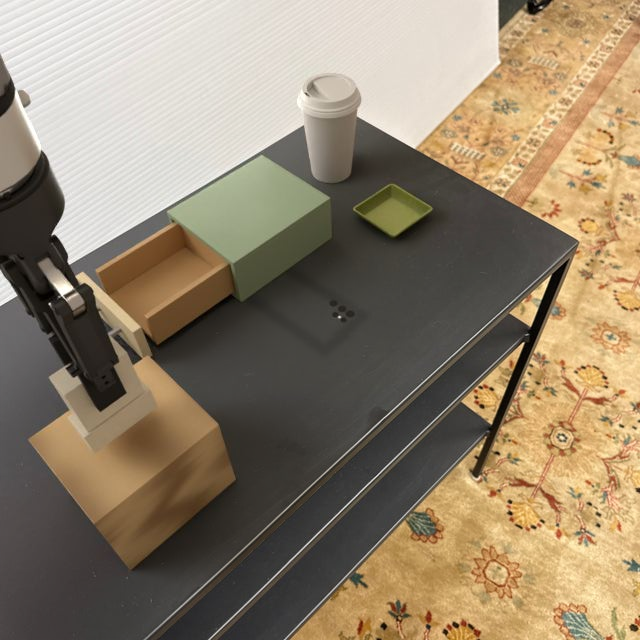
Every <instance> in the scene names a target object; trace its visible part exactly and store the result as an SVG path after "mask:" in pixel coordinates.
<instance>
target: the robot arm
mask: <svg viewBox="0 0 640 640" xmlns="http://www.w3.org/2000/svg"><path fill="white" fill-rule="evenodd" d="M31 104H32V100H31V97H30V94H28V93H27V92H26V91H25V90H24V89H19V90H17V88H16V87H15V83H14V81H13V77H12V76H11V73H10V72H9V70H8V67H7V65H6V64H5V61H4V59H3V56H2V54H1V53H0V273H2V275H3V277H4V278H5V279H6V281H8V283H9V285H10V286H11V288H12V290H13V291H14V292H15V294H16V295H17V297H18V299H19V301H20V302H21V304H22V305H23V307H24V308H25V310H24V311H25V312H26V314H27V315H28V316H31V318H32V319H35V320H36V321H37V323H38V326H39V329H40V331H41V332H42V333H44V334H46V335H47V336H49V335H50V334H51V335H52V336H49V337H47V340H48V341H49V343H50V345H51V346H52V348H53V350H54V351H55V353H56V355H57V356H58V358H59V360H60V361H61V363H62V365H63V367H65V366H66V365H68V364H69V363H70V364H71V365H69V366H68V367H66V368H65V369H66V370H67V372H68V373H69V374H70V375H71V376H72V378H75V377H76V376H78V378H79V379H80V381H81V383H82V385H83V386H84V388H85V390H86V391H87V393H88V395H89V397H90V398H91V400H92V402H93V403H94V405H95V407H96V408H97V409H98V410H99V411H100V412H101V411H103V410H104V409H106V408H107V407H108V406H110V405H111V404H113V403H114V402H115V401H117V400H118V399H119V398H121V397H122V396H124V395H125V394H126V393H127V392H126V390H125V388H124V386H123V384H122V382H121V380H120V378H119V376H118V374H117V372H116V370H115V368H114V365H116V364H117V363H119V359H118V355H117V354H116V352H115V349H114V347H113V345H112V342H111V340H110V338H109V335H108V333H109V332H108V331H107V328H106V326H105V324H104V320H103V319H102V318H101V316H100V314H99V312H98V309H97V307H96V299H95V295H94V291H93V289H92V288H91V287H90V286H89V285H88V284H86V283H83V284H79V282H78V280H77V278H76V275H75V273H74V270H73V269H72V268H71V265H70V264H69V261H68V260H69V254H68V252H67V249H66V248H65V246H64V244H63V243H62V241H61V240H60V238H59V237H58V236H57V235H56V234H55V233H54V231H55V229H56V228H57V226H58V224H59V223H60V221H61V220H62V217H63V216H64V212H65V209H66V208H65V207H66V198H65V194H64V192H63V189H62V187H61V185H60V183H59V181H58V179H57V176H56V174H55V171H54V169H53V167H52V165H51V162H50V160H49V158H48V155H47V154H46V153H45V152H44V151H43V150H42V147H41V143H40V140H39V137H38V135H37V133H36V131H35V129H34V126H33V124H32V122H31V120H30V119H29V116H28V115H27V112H26V110H25V108H27V107H29V106H30V105H31Z"/></svg>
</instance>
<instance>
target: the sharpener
mask: <svg viewBox="0 0 640 640" xmlns="http://www.w3.org/2000/svg"><path fill="white" fill-rule="evenodd" d="M109 338H110V340H111V342H112V345H113V347H114V349H115V352H116V354H117V355H118V359H119V363H117V364H116V365H114V368H115V370H116V372H117V374H118V376H119V378H120V380H121V382H122V384H123V386H124V388H125V390H126V392H127V393H126V394H125V395H124V396H122V397H121V398H119V399H118V400H117V401H115V402H114V403H113V404H111V405H110V406H108V407H107V408H106V409H104V410H103V411H101V412H100V411H99V410H98V409H97V408H96V407H95V405H94V403H93V402H92V400H91V398H90V397H89V395H88V393H87V391H86V390H85V388H84V386H83V385H82V383H81V381H80V379H79V378H78V376H76V377H75V378H72V376H71V375H70V374H69V373H68V372H67V370H66V369H65V368H66V367H68V366H69V365H71V364H70V363H69V364H68V365H66V366H62V367H61V368H60V369H58V370H57V371H55V372H54V373H52V374H51V375H50V376H48V379H49V381H50V382H51V383H52V385H53V387H54V388H55V390H56V391H57V393H58V394H59V395H60V398H61V399H62V400H63V402H64V404H65V405H66V407H67V408H68V411H69V410H70V411H71V413H72V414H71V415H70V416H68V417H67V418H68V420H69V421H70V423H71V424H72V426H73V427H74V429H75V430H76V432H77V433H78V435H79V436H80V437H81V438H82V439H83V441H84V442H85V443H86V444H87V445H88V447H89V448H90V449H91V450H92V451H93V452H94V453H97V452H98V451H100V450H101V449H102V448H104V447H105V446H106V445H108V444H109V443H110V442H112V441H113V440H114V439H116V438H117V437H118V436H120V435H121V434H122V433H124V432H125V431H126V430H128V429H129V428H130V427H132V426H133V425H134V424H136V423H137V422H138V421H140V420H141V419H142V418H144V417H145V416H146V415H148V414H149V413H150V412H152V411H153V410H154V409H156V408H157V407H158V406H157V403H156V401H155V399H154V397H153V394H152V392H151V390H150V389H149V388H148V387H147V386H146V384H145V383H144V382H143V381H142V380H141V379H140V378H139V377H138V376H137V374H136V371H135V369H134V367H133V365H134V364H133V362H132V361H131V358H130V356H129V353H128V352H127V351H126V350H125V348H123V347H122V346H121V345H120V344H119V342H118V341H116V340H115V339H114V337H113V338H112V337H111V336H109Z"/></svg>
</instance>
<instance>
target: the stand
mask: <svg viewBox="0 0 640 640" xmlns="http://www.w3.org/2000/svg"><path fill="white" fill-rule="evenodd" d="M132 365H133V367H134V369H135V371H136V374H137V376H138V377H139V378H140V379H141V380H142V381H143V382H144V383H145V384H146V386H147V387H148V388H149V389H150V390H151V392H152V394H153V397H154V399H155V401H156V403H157V406H158V407H157V408H156V409H154V410H153V411H152V412H150V413H149V414H148V415H146V416H145V417H144V418H142V419H141V420H140V421H138V422H137V423H136V424H134V425H133V426H132V427H130V428H129V429H128V430H126V431H125V432H124V433H122V434H121V435H120V436H118V437H117V438H116V439H114V440H113V441H112V442H110V443H109V444H108V445H106V446H105V447H104V448H102V449H101V450H100V451H98V452H97V453H94V452H93V451H92V450H91V449H90V448H89V447H88V445H87V444H86V443H85V442H84V441H83V439H82V438H81V437H80V436H79V435H78V433H77V432H76V430H75V429H74V427H73V426H72V424H71V423H70V421H69V420H68V418H67V417H68V416H70V415H71V414H72V413H71V411H70V410H69V409H68V411H66V412H65V413H63V414H62V415H60V416H59V417H58V418H56V419H55V420H53V421H52V422H51V423H48V425H46V426H45V427H43V428H41V430H39V431H37V432H36V433H35V434H33V435H32V436H30V437H29V438H28V441H29V443H30V444H31V446H32V447H33V448H34V450H35V452H37V453H38V455H39V456H40V457H41V458H42V460H43V461H44V463H45V464H46V465H47V466H48V468H49V469H50V471H52V472H53V474H54V475H55V477H56V478H57V479H58V481H60V483H61V484H62V486H63V487H64V488H65V489H66V491H67V492H68V494H69V495H70V497H72V499H73V500H74V501H75V502H76V504H77V505H78V506H79V507H80V509H81V510H82V511H83V513H84V514H85V515H86V516H87V518H88V519H89V521H91V523H92V524H93V526H94V527H95V528H96V529H97V531H98V532H99V533H100V534H101V536H102V537H103V538H104V539H105V540H106V542H107V543H108V544H109V545H110V547H111V548H112V549H113V551H114V553H116V554H117V555H118V557H119V558H120V559H121V561H122V562H123V564H124V565H125V566H126V567H127V568H128V570H129V571H132V570H133V569H134V568H135V567H136V566H137V565H138V564H140V563H141V562H142V561H144V560H145V558H147V557H148V556H149V555H150V554H151V553H153V551H155V550H156V549H157V548H158V547H159V546H161V545H162V544H163V543H164V542H165V541H167V540H168V539H169V538H170V537H171V536H172V535H173V534H175V533H176V532H177V531H178V530H179V529H181V528H182V527H183V526H184V525H185V524H187V522H188V521H190V520H191V519H192V518H193V517H195V515H197V514H198V513H199V512H200V511H201V510H202V509H203V508H204V507H206V506H207V505H209V504H210V503H211V502H212V501H213V500H214V499H215V498H217V497H218V496H219V495H220V494H221V493H222V492H224V491H225V490H226V489H227V488H228V487H229V486H230V485H231V484H233V483H234V482H235V481H236V479H237V477H236V476H235V472H234V469H233V466H232V462H231V459H230V456H229V453H228V449H227V447H226V443H225V440H224V437H223V434H222V431H221V427H220V424H219V423H218V422H217V421H216V420H215V419H214V418H213V417H212V416H211V415H210V414H209V413H208V412H207V411H206V410H205V409H204V408H203V407H202V406H201V405H199V403H198V402H197V401H196V400H195V399H194V398H193V397H191V395H189V394H188V393H187V391H186V390H184V389H183V388H182V387H181V386H180V385H179V384H178V382H176V381H175V380H174V379H173V378H172V377H171V376H170V375H169V374H168V373H167V372H166V371H165V370H164V369H163V368H162V367H161V366H160V365H159V364H158V363H157V362H156V361H155V360H154V359H153V358H151V357H149V356H146V357H145V358H143V359H142V358H141V359H140V360H139V361H138V362H136V363H134V364H132Z"/></svg>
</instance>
